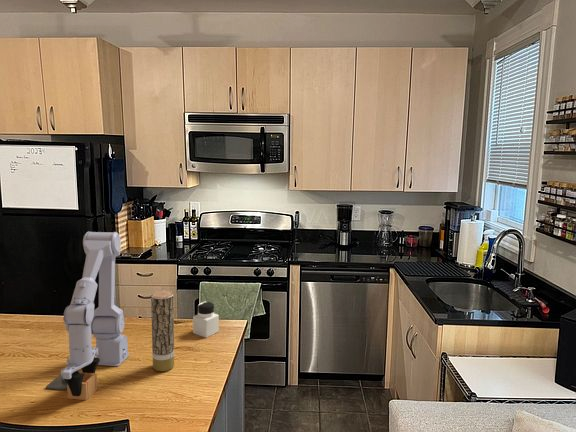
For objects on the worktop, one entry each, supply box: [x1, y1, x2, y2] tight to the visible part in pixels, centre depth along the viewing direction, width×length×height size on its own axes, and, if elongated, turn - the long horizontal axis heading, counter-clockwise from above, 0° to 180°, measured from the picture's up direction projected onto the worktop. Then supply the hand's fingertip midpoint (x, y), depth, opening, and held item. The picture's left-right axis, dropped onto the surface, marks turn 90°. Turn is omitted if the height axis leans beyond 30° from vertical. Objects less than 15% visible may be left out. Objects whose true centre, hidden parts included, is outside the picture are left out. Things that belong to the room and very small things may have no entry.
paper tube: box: [150, 289, 175, 372], centre depth 137 cm, size 7×7×25 cm
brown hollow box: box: [66, 371, 98, 401], centre depth 122 cm, size 6×6×5 cm
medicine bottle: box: [192, 301, 220, 338], centre depth 165 cm, size 7×7×12 cm
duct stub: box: [45, 366, 67, 391], centre depth 128 cm, size 8×8×4 cm
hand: (82, 389), depth 122 cm, fingers closed on brown hollow box, 6 cm apart
